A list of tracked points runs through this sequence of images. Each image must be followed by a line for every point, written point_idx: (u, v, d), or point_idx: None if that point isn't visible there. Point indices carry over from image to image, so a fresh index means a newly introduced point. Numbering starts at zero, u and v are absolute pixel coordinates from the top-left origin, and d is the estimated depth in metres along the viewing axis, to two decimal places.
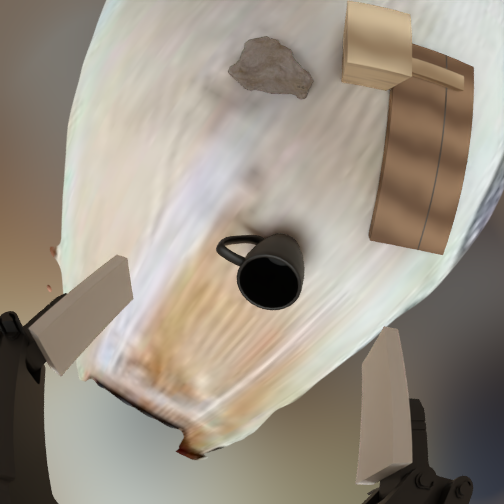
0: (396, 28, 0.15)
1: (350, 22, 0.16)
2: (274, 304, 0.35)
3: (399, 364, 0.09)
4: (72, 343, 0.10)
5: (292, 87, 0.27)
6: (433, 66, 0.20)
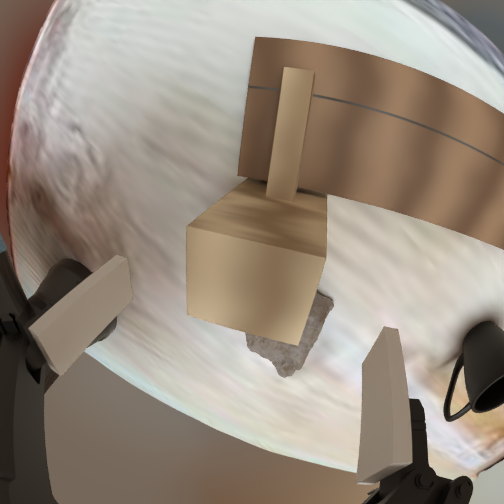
0: (225, 261, 0.14)
1: (227, 324, 0.16)
2: None
3: (399, 364, 0.09)
4: (72, 343, 0.10)
5: None
6: (279, 128, 0.17)
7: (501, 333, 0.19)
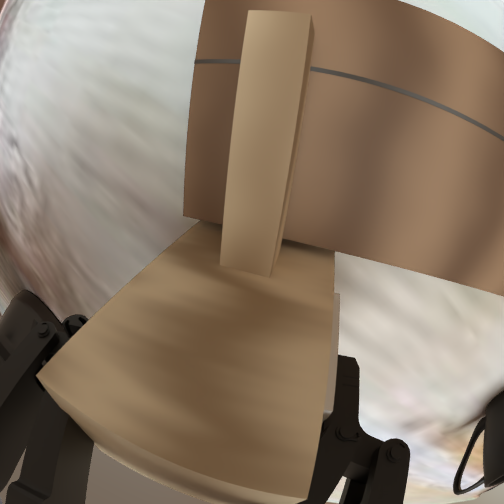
0: (111, 441, 0.05)
1: (154, 479, 0.07)
2: None
3: (333, 322, 0.11)
4: None
5: None
6: (240, 133, 0.08)
7: None
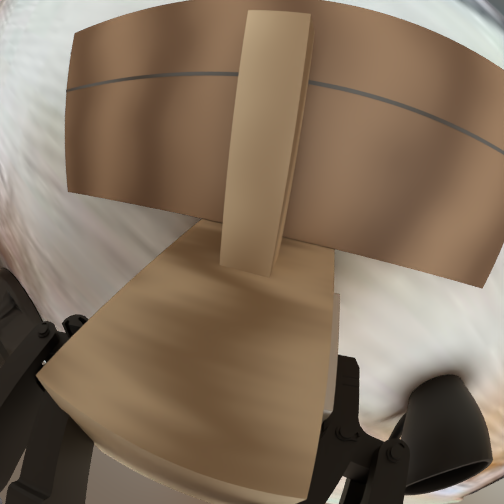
0: (111, 441, 0.05)
1: (154, 480, 0.07)
2: (480, 463, 0.10)
3: (333, 322, 0.11)
4: None
5: None
6: (239, 133, 0.08)
7: (461, 400, 0.13)
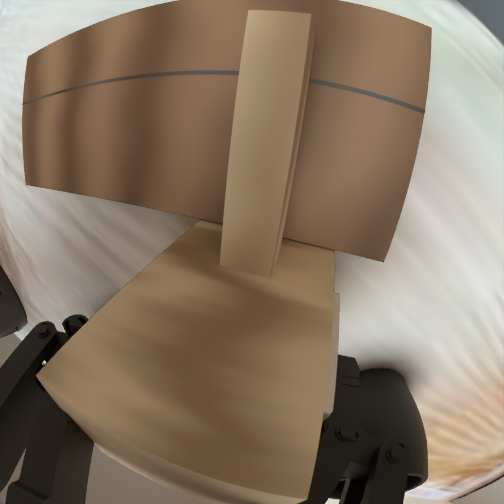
0: (111, 441, 0.05)
1: (154, 480, 0.07)
2: (418, 476, 0.11)
3: (333, 322, 0.11)
4: None
5: None
6: (240, 133, 0.08)
7: (389, 397, 0.14)
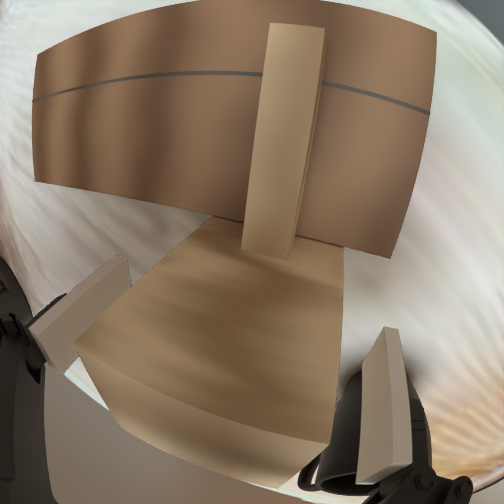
0: (143, 405, 0.06)
1: (174, 454, 0.08)
2: None
3: (399, 364, 0.09)
4: (72, 343, 0.10)
5: None
6: (262, 131, 0.09)
7: None
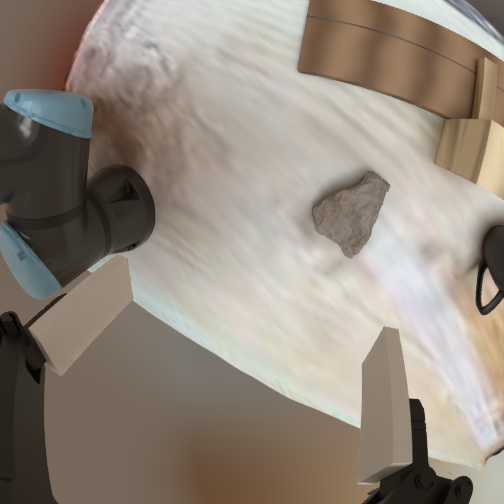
0: None
1: (497, 193, 0.15)
2: None
3: (399, 364, 0.09)
4: (72, 343, 0.10)
5: None
6: (484, 90, 0.16)
7: None
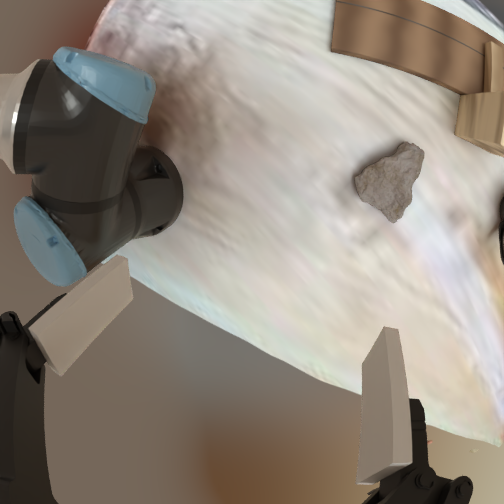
0: None
1: None
2: None
3: (399, 364, 0.09)
4: (72, 343, 0.10)
5: None
6: (493, 69, 0.16)
7: None
